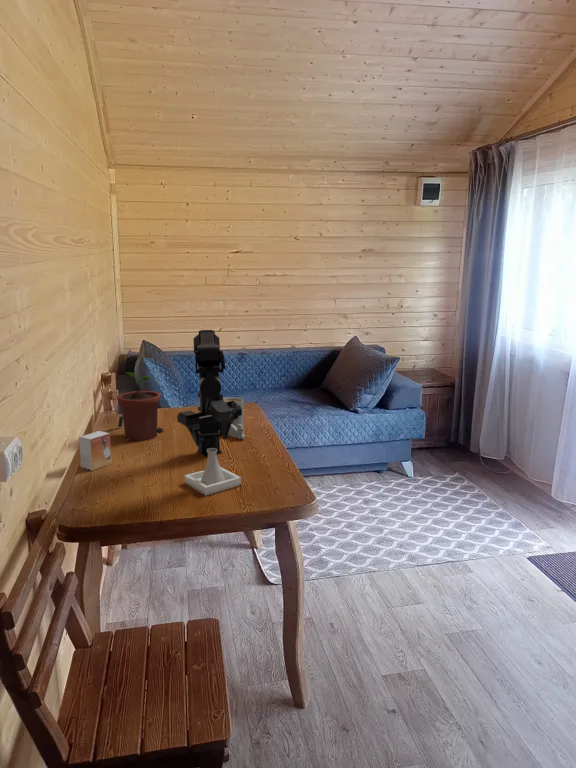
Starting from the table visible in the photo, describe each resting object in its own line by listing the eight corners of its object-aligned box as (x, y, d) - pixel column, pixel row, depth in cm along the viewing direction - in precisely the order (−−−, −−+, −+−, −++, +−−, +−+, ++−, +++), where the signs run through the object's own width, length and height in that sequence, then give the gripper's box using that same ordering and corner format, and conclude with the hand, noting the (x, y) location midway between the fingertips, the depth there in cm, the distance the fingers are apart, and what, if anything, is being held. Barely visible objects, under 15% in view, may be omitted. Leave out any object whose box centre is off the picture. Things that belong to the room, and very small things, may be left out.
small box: (92, 471, 176) (89, 439, 174) (80, 468, 179) (78, 436, 177) (112, 463, 183) (110, 432, 180) (100, 460, 186) (98, 430, 183)
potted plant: (113, 444, 202) (108, 376, 197) (118, 427, 223) (114, 365, 217) (163, 441, 205) (160, 374, 200) (163, 425, 226) (160, 364, 221)
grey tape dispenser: (227, 435, 214) (246, 439, 207) (224, 435, 213) (243, 440, 206) (226, 420, 213) (245, 424, 206) (224, 421, 211) (243, 425, 205)
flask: (204, 488, 161) (203, 455, 159) (197, 479, 167) (196, 447, 165) (228, 484, 164) (227, 451, 162) (220, 475, 170) (220, 444, 168)
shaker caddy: (219, 473, 174) (219, 466, 173) (241, 485, 165) (241, 477, 164) (185, 483, 166) (184, 475, 166) (205, 496, 157) (205, 487, 157)
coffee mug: (244, 420, 233) (243, 397, 231) (243, 427, 223) (242, 403, 221) (212, 420, 232) (211, 397, 230) (209, 427, 223) (208, 403, 221)
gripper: (195, 400, 148) (197, 456, 151) (252, 390, 160) (253, 442, 163) (175, 393, 157) (177, 446, 160) (231, 384, 168) (232, 433, 171)
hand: (211, 442), depth 163 cm, fingers open, 9 cm apart
